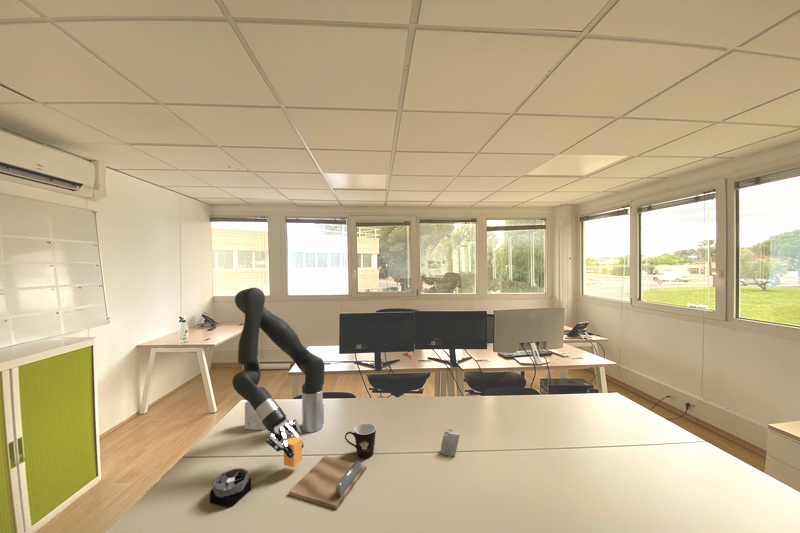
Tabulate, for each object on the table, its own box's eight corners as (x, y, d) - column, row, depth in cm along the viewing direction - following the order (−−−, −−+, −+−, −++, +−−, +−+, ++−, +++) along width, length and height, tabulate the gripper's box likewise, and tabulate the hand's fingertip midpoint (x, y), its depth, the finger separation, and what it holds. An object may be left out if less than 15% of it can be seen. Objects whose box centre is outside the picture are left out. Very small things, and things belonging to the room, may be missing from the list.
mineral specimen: (463, 455, 116) (458, 435, 116) (441, 458, 118) (437, 438, 118) (463, 444, 123) (458, 425, 123) (442, 446, 125) (438, 427, 125)
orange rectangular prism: (292, 457, 113) (292, 436, 113) (302, 459, 111) (301, 438, 111) (284, 464, 108) (283, 442, 108) (294, 467, 107) (293, 445, 107)
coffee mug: (380, 450, 121) (379, 425, 121) (369, 463, 113) (368, 436, 113) (355, 444, 126) (355, 420, 126) (343, 455, 118) (343, 429, 118)
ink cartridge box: (270, 424, 143) (270, 394, 143) (264, 430, 138) (263, 398, 138) (251, 423, 144) (251, 393, 145) (244, 429, 139) (243, 398, 139)
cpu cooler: (231, 465, 105) (255, 470, 102) (232, 481, 104) (255, 487, 101) (204, 485, 95) (230, 492, 92) (204, 504, 95) (230, 511, 92)
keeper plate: (324, 458, 116) (324, 445, 116) (366, 468, 110) (366, 454, 110) (289, 495, 98) (289, 479, 98) (336, 509, 91) (336, 492, 91)
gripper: (261, 417, 106) (289, 458, 101) (289, 399, 119) (315, 435, 115) (249, 429, 108) (277, 470, 103) (278, 411, 121) (304, 446, 117)
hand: (297, 451), depth 109 cm, fingers closed on orange rectangular prism, 4 cm apart
